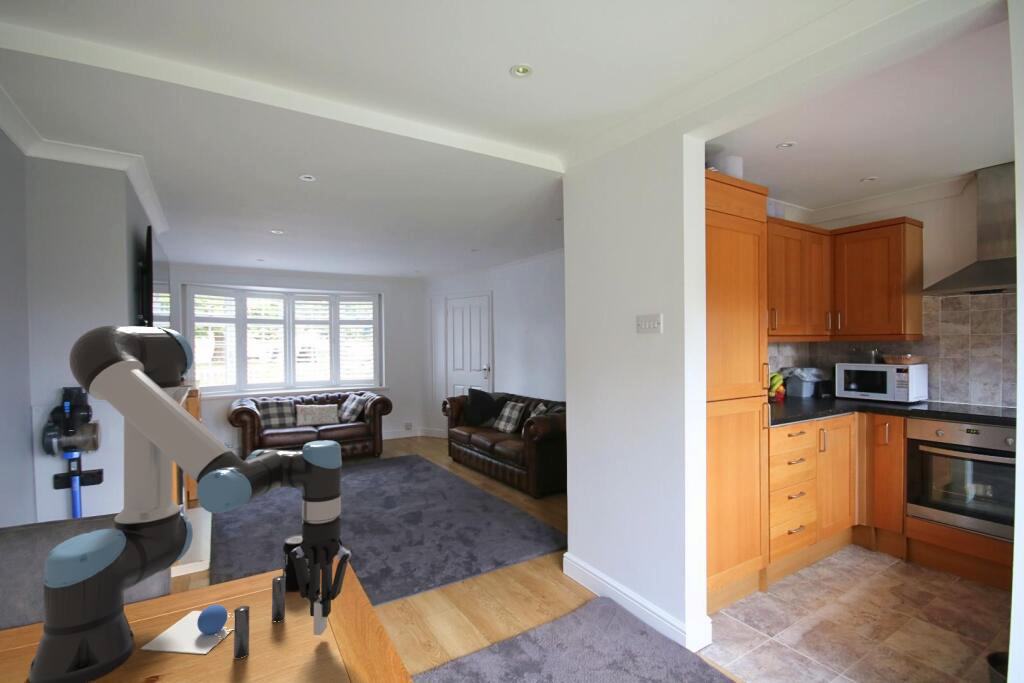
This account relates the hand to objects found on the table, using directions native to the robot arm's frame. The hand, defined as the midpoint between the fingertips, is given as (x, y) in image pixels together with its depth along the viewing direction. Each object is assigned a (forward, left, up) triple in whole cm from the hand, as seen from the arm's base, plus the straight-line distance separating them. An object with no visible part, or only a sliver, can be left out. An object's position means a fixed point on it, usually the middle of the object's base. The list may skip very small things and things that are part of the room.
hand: (320, 631), depth 101 cm
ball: (-24, 0, +1) cm, 24 cm away
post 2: (-13, +6, -2) cm, 15 cm away
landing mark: (-27, 0, -2) cm, 27 cm away
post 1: (-13, -6, -2) cm, 15 cm away
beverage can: (-17, +21, -2) cm, 27 cm away
